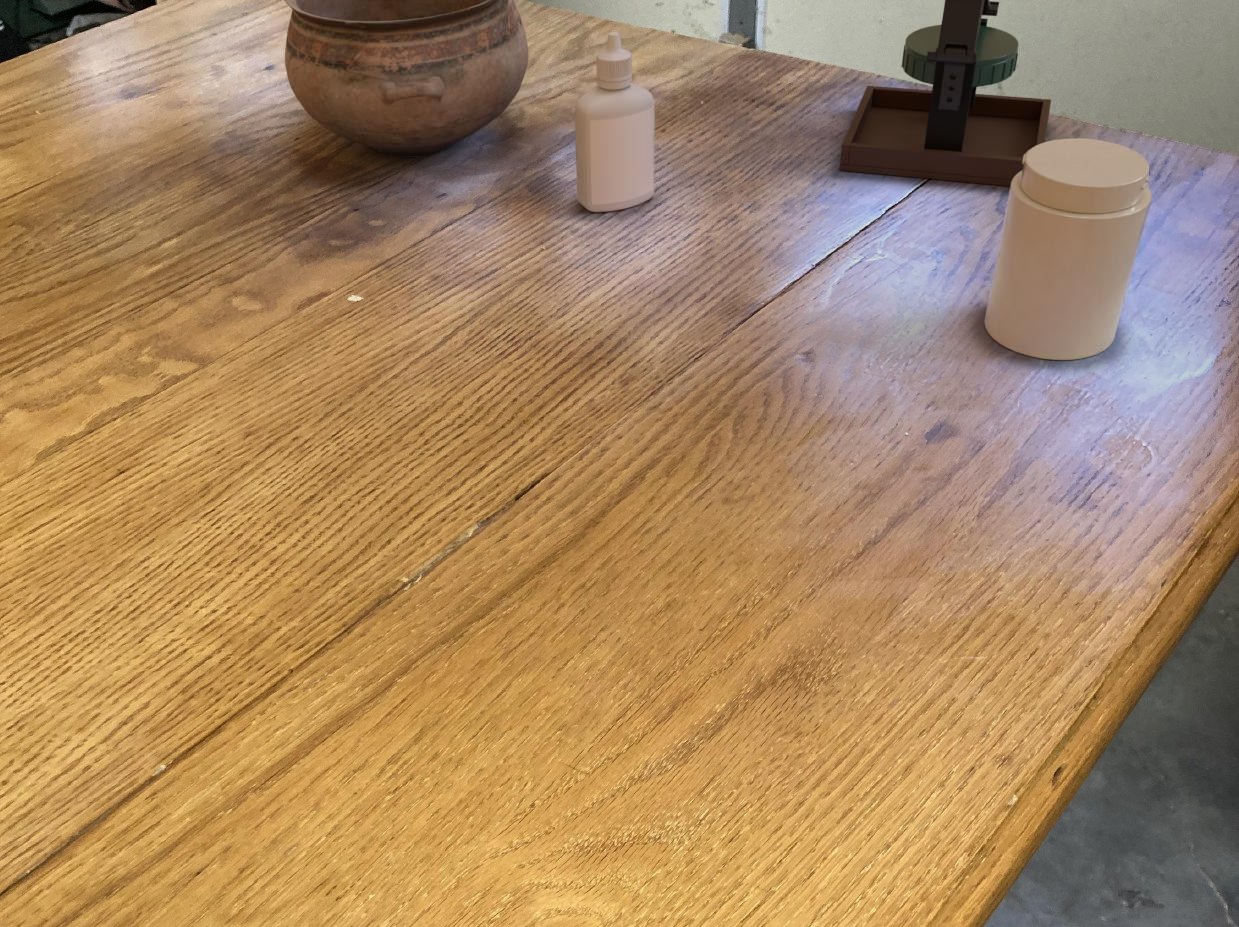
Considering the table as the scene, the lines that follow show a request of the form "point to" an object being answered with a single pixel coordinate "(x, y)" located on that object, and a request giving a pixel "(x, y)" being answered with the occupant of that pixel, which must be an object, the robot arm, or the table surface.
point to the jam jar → (1068, 248)
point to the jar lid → (991, 47)
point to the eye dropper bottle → (615, 136)
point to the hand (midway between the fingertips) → (949, 125)
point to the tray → (895, 146)
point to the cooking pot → (405, 68)
